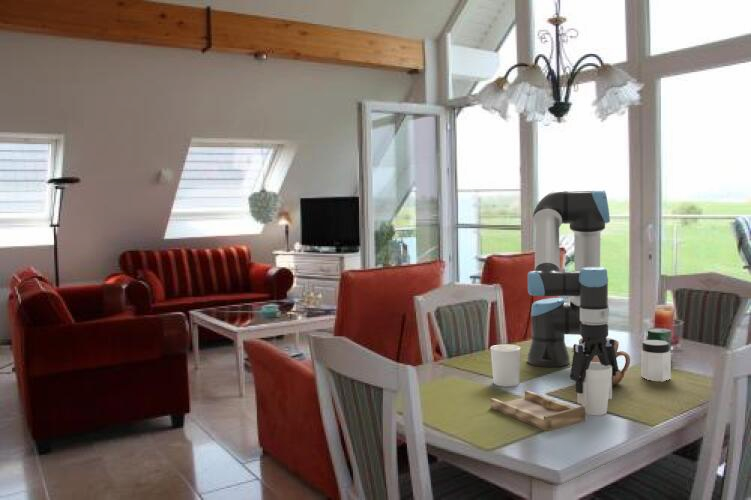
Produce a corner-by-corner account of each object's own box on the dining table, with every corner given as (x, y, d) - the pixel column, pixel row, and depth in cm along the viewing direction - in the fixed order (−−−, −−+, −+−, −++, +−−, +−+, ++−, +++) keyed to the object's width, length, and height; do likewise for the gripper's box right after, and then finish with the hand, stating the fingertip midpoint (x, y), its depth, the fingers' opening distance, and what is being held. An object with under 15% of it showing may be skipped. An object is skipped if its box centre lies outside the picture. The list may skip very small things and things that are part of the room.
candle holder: (523, 379, 216) (522, 344, 215) (519, 388, 207) (518, 351, 206) (493, 378, 220) (492, 343, 219) (489, 386, 210) (488, 350, 209)
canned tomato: (645, 360, 235) (645, 331, 234) (649, 356, 241) (649, 327, 240) (669, 363, 230) (669, 332, 229) (672, 358, 237) (672, 328, 236)
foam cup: (572, 407, 187) (571, 363, 186) (603, 405, 188) (602, 361, 187) (585, 417, 178) (585, 371, 177) (618, 415, 178) (617, 369, 177)
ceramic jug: (568, 387, 206) (568, 344, 205) (573, 375, 219) (573, 334, 218) (628, 393, 199) (629, 348, 197) (630, 380, 212) (631, 337, 211)
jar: (659, 383, 207) (659, 346, 206) (636, 378, 214) (636, 342, 213) (675, 378, 212) (675, 342, 211) (652, 373, 218) (652, 338, 217)
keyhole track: (490, 407, 189) (490, 395, 189) (527, 399, 196) (527, 387, 195) (546, 431, 169) (546, 417, 168) (585, 420, 175) (585, 407, 175)
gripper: (575, 329, 172) (576, 411, 174) (632, 319, 183) (632, 397, 184) (555, 325, 179) (556, 404, 181) (610, 316, 189) (611, 390, 191)
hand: (594, 400), depth 182 cm, fingers closed on foam cup, 9 cm apart
